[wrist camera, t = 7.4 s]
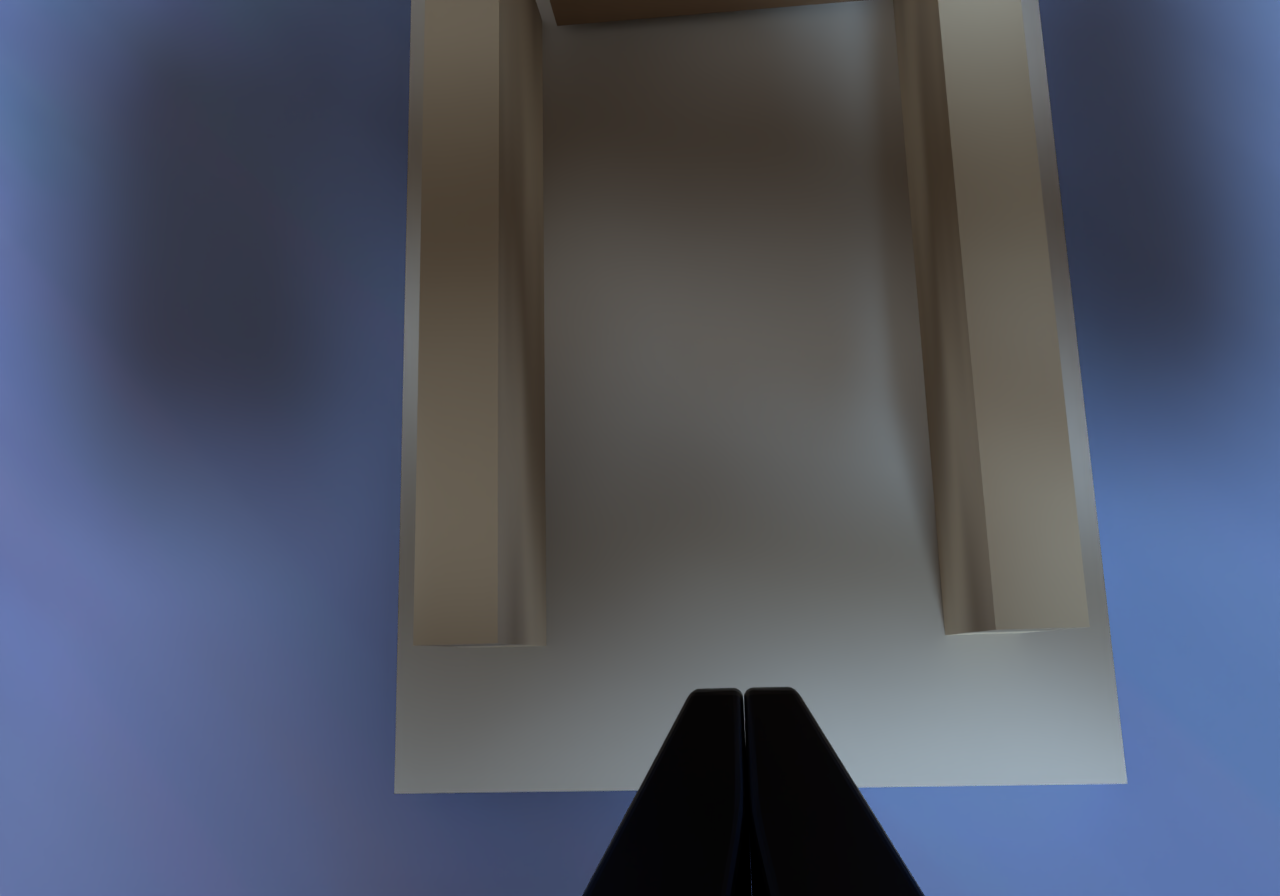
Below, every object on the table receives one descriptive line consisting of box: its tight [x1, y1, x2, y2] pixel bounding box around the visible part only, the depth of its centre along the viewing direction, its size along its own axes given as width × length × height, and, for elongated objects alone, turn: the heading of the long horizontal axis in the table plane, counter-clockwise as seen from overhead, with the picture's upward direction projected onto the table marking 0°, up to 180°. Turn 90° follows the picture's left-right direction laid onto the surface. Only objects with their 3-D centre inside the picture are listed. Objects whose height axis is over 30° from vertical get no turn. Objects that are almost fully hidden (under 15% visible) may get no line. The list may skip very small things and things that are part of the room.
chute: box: [394, 0, 1127, 794], centre depth 15 cm, size 18×10×4 cm, turn 2°
